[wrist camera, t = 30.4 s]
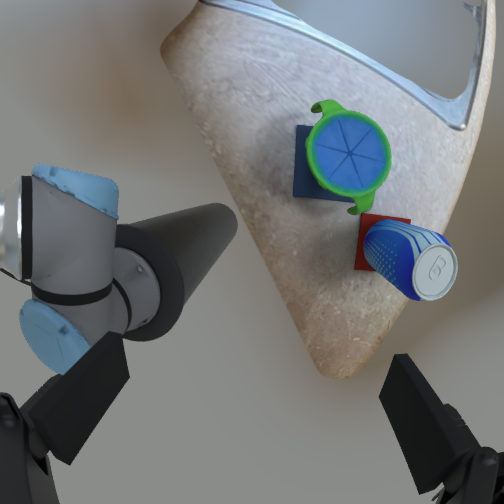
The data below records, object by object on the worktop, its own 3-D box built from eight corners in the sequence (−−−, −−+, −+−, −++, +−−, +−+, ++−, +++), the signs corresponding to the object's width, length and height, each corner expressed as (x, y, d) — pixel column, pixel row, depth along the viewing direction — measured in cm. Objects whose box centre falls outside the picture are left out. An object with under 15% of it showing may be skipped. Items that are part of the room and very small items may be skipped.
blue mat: (292, 196, 41) (293, 196, 40) (296, 125, 38) (297, 124, 38) (361, 203, 40) (363, 203, 40) (365, 134, 38) (366, 134, 37)
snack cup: (374, 204, 40) (403, 210, 30) (310, 218, 41) (323, 227, 31) (351, 108, 36) (373, 87, 27) (285, 118, 38) (290, 96, 28)
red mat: (354, 268, 43) (355, 269, 42) (361, 212, 41) (362, 213, 40) (401, 271, 42) (402, 272, 42) (409, 219, 40) (411, 219, 40)
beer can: (410, 259, 41) (465, 291, 25) (367, 277, 42) (411, 319, 26) (399, 211, 39) (458, 224, 24) (354, 228, 41) (399, 250, 25)
